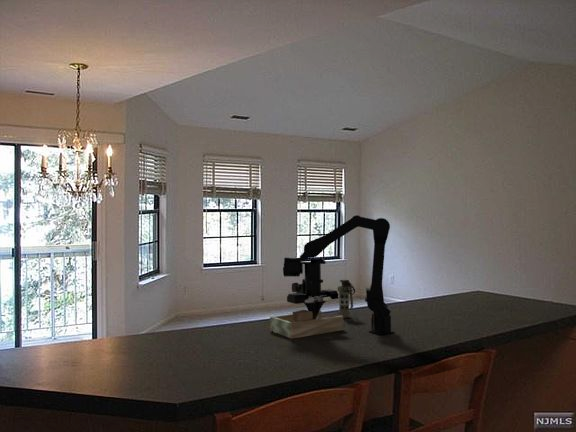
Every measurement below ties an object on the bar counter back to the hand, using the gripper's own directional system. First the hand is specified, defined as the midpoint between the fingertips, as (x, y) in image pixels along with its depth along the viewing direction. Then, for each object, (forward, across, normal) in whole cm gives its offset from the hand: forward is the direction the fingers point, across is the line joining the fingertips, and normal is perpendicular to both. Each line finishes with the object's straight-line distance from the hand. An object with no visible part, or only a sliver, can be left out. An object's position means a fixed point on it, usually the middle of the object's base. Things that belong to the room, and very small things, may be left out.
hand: (313, 320), depth 180 cm
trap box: (+4, +1, -3) cm, 5 cm away
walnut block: (+1, +5, 0) cm, 5 cm away
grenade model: (+4, -26, -13) cm, 29 cm away
